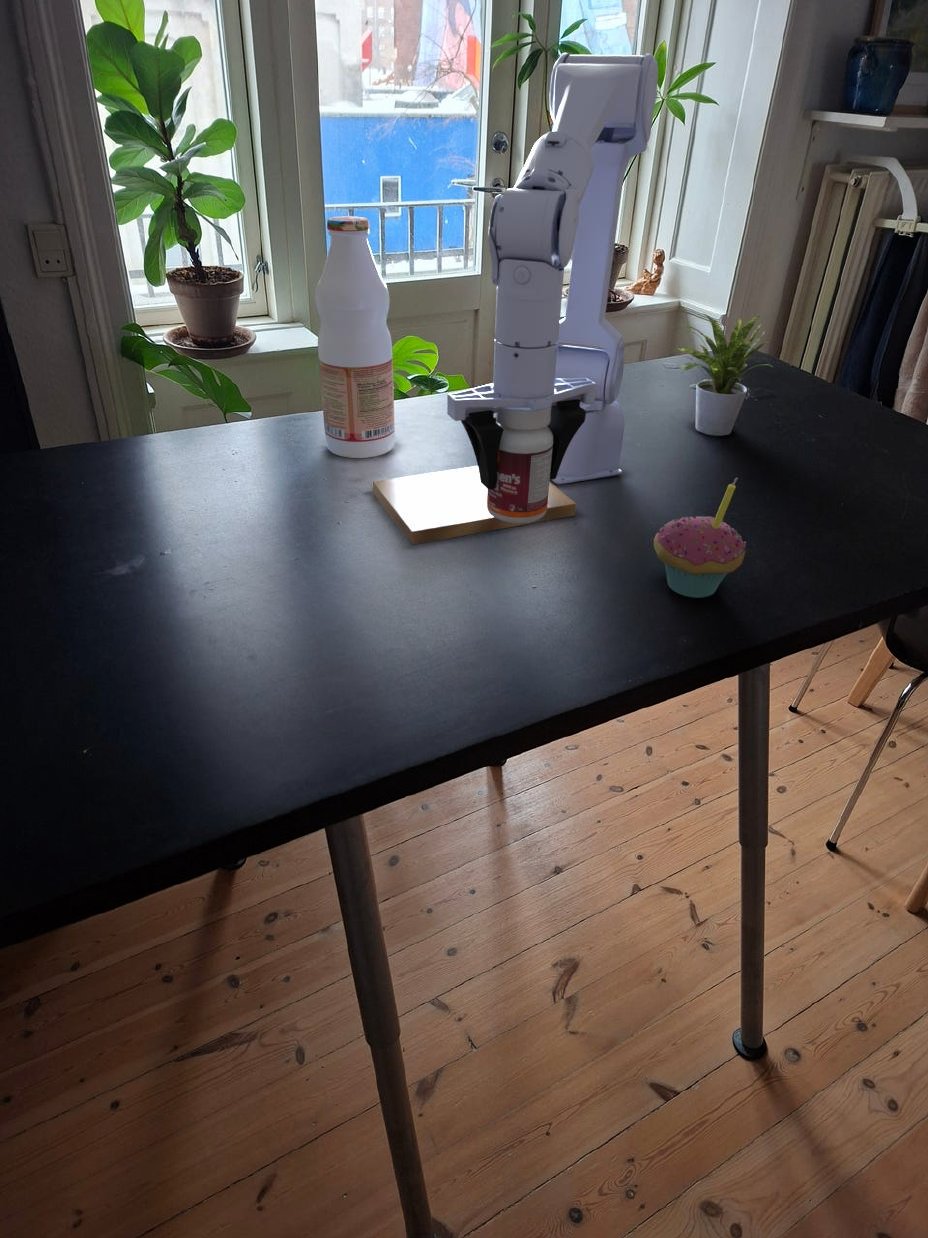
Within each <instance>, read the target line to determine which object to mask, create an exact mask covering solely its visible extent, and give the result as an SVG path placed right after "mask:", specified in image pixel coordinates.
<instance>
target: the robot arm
mask: <svg viewBox="0 0 928 1238" xmlns="http://www.w3.org/2000/svg"><path fill="white" fill-rule="evenodd" d="M658 78H659V66H658V61H657V60H656V58H655V56H654V55H653V53H645V54H644V55H637V54H636V55H634V54H631V55H629V54H625V55H624V54H571V53H570V52H563V53H561V54H560V55H559V57H558V58H557V60H556V61H555V63H554V65H553V68H552V72H551V78H550V85H549V112H550V116H551V119H552V121H553V124H554V125H553V128H552V131H548V132H547V133H545V134H543V135H542V136H541V137H539V139H537V141H536V142H535V143H534V145H533V147H532V149H531V151H530V153H529V155H528V157H527V159H526V162H525V164H524V166H523V168H522V170H521V172H520V174H519V176H518V178H517V180H516V183H515V185H514V187H513V188H512V187H510V188H507V189H506V190H505V191H504V193H503V194H502V193H501V194H497V195H496V196H495V198H494V200H493V202H492V205H491V209H490V214H489V221H488V230H487V243H488V250H489V256H490V261H491V280H492V283H491V284H492V285H494V286H496V290H495V291H496V295H495V322H494V323H495V324H494V344H493V345H494V346H493V347H494V349H493V352H494V353H493V373H492V374H493V375H492V383H487V384H485V385H481V386H477V387H474V388H470V389H466V390H462V391H458V392H452V393H447V398H446V399H447V400H446V401H447V403H446V405H447V407H446V414H447V415H448V416H449V417H450V418H451V419H452V420H454V421H455V422H458V421H460V422H461V424H462V426H463V428H464V430H465V432H466V434H467V437H468V439H469V442H470V445H471V447H472V450H473V453H474V455H475V460H476V463H477V466H478V469H479V475H480V482H481V483H482V484H483V485H484V486H485V487H486V488H487V489H489V490H490V489H495V486H496V481H497V457H498V451H499V446H500V441H501V437H502V434H503V431H504V429H503V428H502V427H501V426H499V425H498V422H497V421H496V417H494V415H495V414H496V413H500V412H501V411H500V410H501V409H505V408H530V409H533V410H538V409H546V408H550V407H551V421H550V423H549V425H547V427H548V428H549V429H550V430H551V432H552V434H553V449H552V459H551V471H550V480H551V481H553V482H554V483H555V484H557V485H564V484H571V483H577V482H582V481H589V480H595V479H601V478H608V477H613V476H619V475H622V473H623V470H622V469H621V468H620V463H621V461H620V460H621V454H622V447H623V440H624V433H625V415H624V410H623V408H622V406H621V404H620V403H619V401H617V399H618V397H619V394H620V390H621V387H622V381H623V376H624V369H625V357H624V356H625V348H626V347H625V346H626V343H625V339H624V337H623V334H621V333H620V332H619V330H617V329H616V328H615V327H614V326H613V325H612V324H611V323H610V322H609V320H608V319H607V318H606V314H607V313H606V311H607V306H608V297H609V290H610V283H611V275H612V267H613V261H614V252H615V244H616V236H617V230H618V223H619V222H618V221H619V214H620V208H621V199H622V193H623V186H624V185H623V184H624V180H625V175H626V173H627V170H628V167H629V163H630V161H631V159H632V158H633V157H636V156H637V155H640V154H642V153H644V152H646V151H647V146H648V142H649V140H650V138H651V133H652V127H653V126H652V125H653V120H654V113H655V112H654V111H655V105H656V99H657V91H658V81H659V80H658ZM570 260H571V264H570V271H569V272H570V273H569V281H568V288H567V289H568V291H567V298H566V299H567V300H566V308H565V317H564V318H562V319H561V314H562V302H563V301H562V300H563V288H564V275H565V268H566V267H567V266H568V264H569V262H570ZM560 343H561V344H560ZM566 344H567V345H566ZM569 344H571V345H569ZM574 345H575V346H574ZM576 345H578V346H576ZM583 346H584V347H583ZM586 346H589V347H586ZM592 347H595V348H592Z"/></svg>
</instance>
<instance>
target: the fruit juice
mask: <svg viewBox="0 0 928 1238" xmlns="http://www.w3.org/2000/svg"><path fill="white" fill-rule="evenodd" d="M370 228H371V227H370V221H369V219H368V218H367V217H363V216H362V217H361V216H353V215H345V216H344V215H341V216H340V215H339V216H331V217H328V219H327V221H326V229H327V235H328V236H330V242H329V246H328V249H327V254H326V259H325V262H324V267H323V270H322V273H321V276H320V279H319V280H318V283H317V285H316V287H315V292H314V303H315V304H314V305H315V309H316V312H317V314H318V317H319V320H320V328H319V331H318V333H317V334H318V335H317V357H318V368H319V379H320V381H319V382H320V392H321V405H322V417H323V430H324V440H325V445H326V447H327V449H328V451H329V452H330V453H332V454H334V455H337V456H339V457H344V458H348V459H349V458H350V459H367V458H374V457H379V456H382V455H384V454H387V453H389V452H390V451H391V450H392V449H393V448H394V446H395V442H396V427H395V425H396V424H395V395H394V393H395V391H394V367H393V366H394V363H393V360H394V359H393V357H394V355H393V341H392V335H391V332H390V330H389V328H388V324H387V319H388V314H389V309H390V304H391V303H390V292H389V289H388V286H387V283H385V281H384V279H383V278H382V276H381V274H380V272H379V270H378V269H379V268H378V266H377V265H376V261H375V258H374V256H373V253H372V250H371V247H370V245H369V241H368V235H370Z"/></svg>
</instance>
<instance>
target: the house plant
mask: <svg viewBox="0 0 928 1238" xmlns="http://www.w3.org/2000/svg"><path fill="white" fill-rule="evenodd" d="M702 314H703V315H704V316H706V317H707V319H708V320H709V322H710V325H711V329H712V333H713V339H714V341H713V339H711V338H710V337H709V336H707V335H705V334H704V333H702V331H700V330H699V329H698V328H695V327H693V326H691V325H686V324H683V323H679V325H681V326H685V327H687V328H690V329H692V330H695V331H697V332H698V333H696V332H694V331H690V330H687V332H689V333H692V334H695V335H696V336H697V337H699V338H700V339H701V341H702V343H703V344H699V345H700V347H701V349H702V350H703V352H701V351H699V350H696V349H693V348H688V347H681V346H680V347H679V346H674V348H675V349H677V350H678V351H681V352H684V353H688V354H689V355H691V356H692V358H691V357H689V356H686V355H681V354H678V356H680V357H685V358H687V359H689V360H691V361H692V362H687V363H684V364H683V365H681V366H680V367H679V369H681V368H682V367H684V369H683V371H682V372H680V373H681V374H683V372H685V371H689V370H691V369H694V368H695V369H696V368H700V370H701V372H702V373H704V371H703V370H705V372H707V374H708V376H709V377H710V379H709V378H708V376H707V375H705V377H706V378H707V379H704V380H701V381H698V382H697V383H696V385H695V430H696V431H698V432H699V433H701V434H705V435H708V436H709V435H710V436H727V435H730V434H731V433H732V431H733V428H734V425H735V423H736V421H737V418H738V415H739V412H740V410H741V408H742V406H743V403H744V401H745V398H746V395H747V393H748V388H747V387H746V386H745V385H744V384H741V383H740V382H741V381H742V380H744V378H741V377H742V376H743V375H744V374H745V373H746V372H748V371H749V370H751V369H753V368H757V367H762V366H767V367H771V368H773V370H774V369H775V368H774V367H773V365H771V364H768V363H763V364H757V365H753V366H751V367H749V368H747V369H746V370H744V369H745V368H746V367H747V366H748V363H746V362H747V361H748V360H749V359H750V357H751V356H752V355H753V354H754V353H756V352H757V351H758V350H759V349H761V348H762V347H763V346H764V345H765V344H767V343H769V342H770V341H772V338H771V339H769V340H766V341H764V342H762V343H761V344H759V345H758V343H759V342H760V341H761V339H762V338H763V336H764V335H765V333H766V332H767V330H764V331H763V333H761V334H760V336H758V338H756V337H757V334H759V333H758V332H759V331H760V329H761V327H762V324H763V323H760V325H759V326H758V327H757V328H756V329H755V330H754V332H753V333H752V334H751V336H750V337H749V339H748V340H747V341H746V339H747V337H748V335H749V333H750V332H751V329H752V328H753V327H754V326H755V324H756V322H757V321H758V320H759V318H760V316H761V315H758V316H754V317H752V318H751V319H749V320H748V321H747V322H745V324H743V326H742V327H741V325H742V322H743V321H742V320H743V315H742V316H740V318H739V319H738V321H737V323H736V325H735V326H734V328H733V330H732V332H731V335H730V337H729V341H728V343H727V339H726V335H725V333H724V330H723V328H722V327H721V326H720V324H719V323H718V322H717V320H716V319H713V318H712V317H711V316H709V315H708V314H706V313H703V312H702ZM700 335H702V336H703V338H704V339H705V341H704V340H703V339H702V337H701V336H700ZM755 338H756V340H755V341H754V339H755ZM753 341H754V342H753ZM752 342H753V344H752V345H751V343H752ZM706 344H707V345H708V346H709V348H710V350H711V352H712V354H713V356H712V355H711V354H710V352H709V349H708V347H707V345H706ZM750 345H751V346H750ZM756 345H758V346H757V347H756ZM749 346H750V347H749ZM748 348H749V349H748ZM693 358H695V359H698V360H699V361H701V362H703V363H705V364H707V366H708V367H706V366H704V365H703V364H699V363H696V362H695V361H694V359H693ZM702 369H703V370H702ZM743 370H744V371H743ZM742 371H743V372H742ZM741 372H742V373H741Z"/></svg>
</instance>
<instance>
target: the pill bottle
mask: <svg viewBox="0 0 928 1238" xmlns="http://www.w3.org/2000/svg"><path fill="white" fill-rule="evenodd" d="M500 411H501V412H500V413H495V418H496V423H497V424H498V425H499V426H501V427H502V428H503V429H504V431H503V434H502V437H501V441H500V446H499V451H498V457H497V481H496V486H495V489H490V490H489V489H487V509H488V511H489V513H490V514H491V515H492V516H494V517H495V518H497V519H499V520H502V521H505V522H509V523H528V522H532V521H535V520H538V519H540V518H541V517H543V516H544V515H545V513H546V511H547V505H548V494H549V482H551V481H550V471H551V459H552V449H553V434H552V432H551V430H550V429H549V428H548V427H547V425H549V423H550V421H551V407H550V408H546V409H538V410H533V409H530V408H505V409H501V410H500Z"/></svg>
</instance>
